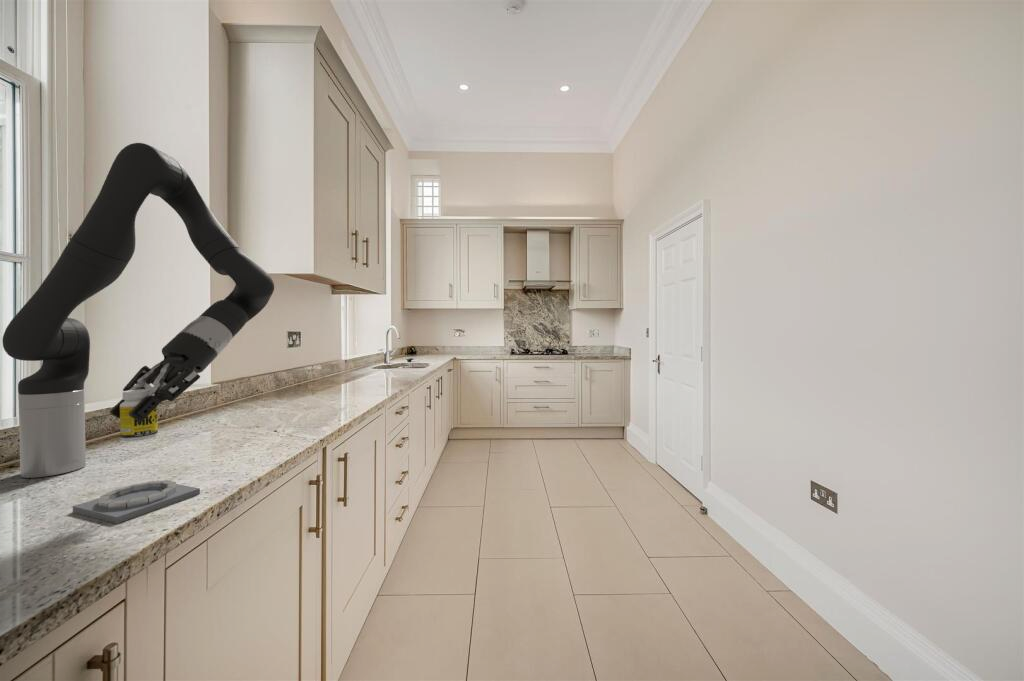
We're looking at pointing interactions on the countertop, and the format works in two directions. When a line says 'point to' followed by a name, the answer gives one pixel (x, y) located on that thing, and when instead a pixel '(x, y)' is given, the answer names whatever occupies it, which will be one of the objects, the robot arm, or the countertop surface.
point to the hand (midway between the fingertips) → (125, 416)
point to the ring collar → (109, 503)
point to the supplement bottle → (132, 427)
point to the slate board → (128, 513)
